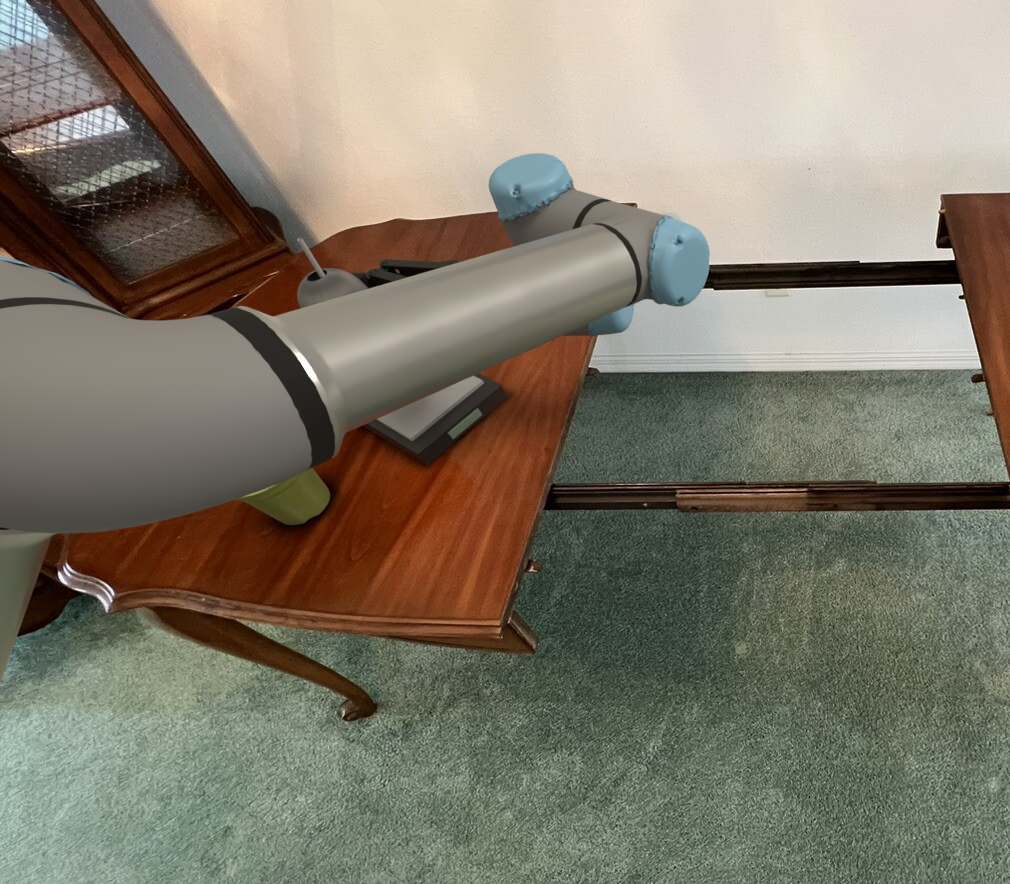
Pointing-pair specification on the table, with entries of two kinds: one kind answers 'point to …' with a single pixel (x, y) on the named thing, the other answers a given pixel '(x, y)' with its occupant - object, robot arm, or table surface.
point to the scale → (439, 417)
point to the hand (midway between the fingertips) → (300, 308)
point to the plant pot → (292, 498)
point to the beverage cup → (325, 283)
